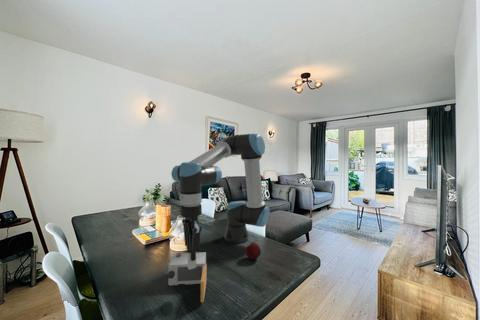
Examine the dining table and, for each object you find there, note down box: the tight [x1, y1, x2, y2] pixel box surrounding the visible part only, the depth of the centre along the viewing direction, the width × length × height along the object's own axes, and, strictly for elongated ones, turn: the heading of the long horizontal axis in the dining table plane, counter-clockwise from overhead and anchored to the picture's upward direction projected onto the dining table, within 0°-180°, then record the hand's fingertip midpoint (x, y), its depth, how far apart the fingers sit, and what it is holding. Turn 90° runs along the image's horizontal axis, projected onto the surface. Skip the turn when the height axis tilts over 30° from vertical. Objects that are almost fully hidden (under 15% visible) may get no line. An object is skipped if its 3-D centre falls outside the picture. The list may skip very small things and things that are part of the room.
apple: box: [244, 241, 262, 261], centre depth 103 cm, size 7×8×8 cm
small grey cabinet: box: [167, 251, 207, 286], centre depth 86 cm, size 14×11×9 cm
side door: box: [200, 263, 208, 303], centre depth 76 cm, size 12×1×7 cm, turn 5°
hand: (192, 267), depth 76 cm, fingers closed
